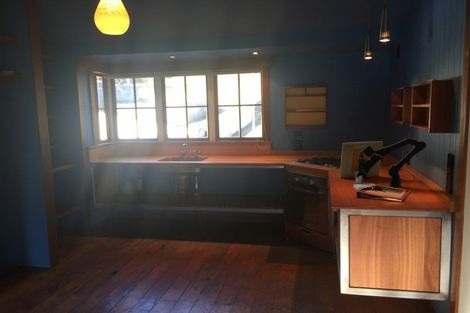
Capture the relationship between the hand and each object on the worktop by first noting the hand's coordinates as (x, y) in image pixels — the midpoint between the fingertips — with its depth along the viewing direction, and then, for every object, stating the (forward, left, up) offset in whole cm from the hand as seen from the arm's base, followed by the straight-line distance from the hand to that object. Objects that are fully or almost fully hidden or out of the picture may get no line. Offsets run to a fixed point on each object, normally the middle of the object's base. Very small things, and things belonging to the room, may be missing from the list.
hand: (356, 175), depth 276 cm
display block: (-2, +12, -7) cm, 14 cm away
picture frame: (-14, -29, -7) cm, 34 cm away
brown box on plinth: (-1, +1, -7) cm, 7 cm away
